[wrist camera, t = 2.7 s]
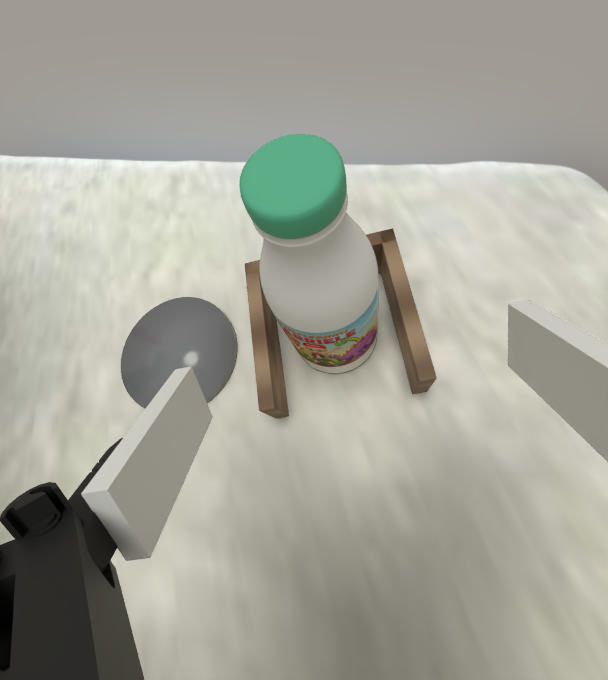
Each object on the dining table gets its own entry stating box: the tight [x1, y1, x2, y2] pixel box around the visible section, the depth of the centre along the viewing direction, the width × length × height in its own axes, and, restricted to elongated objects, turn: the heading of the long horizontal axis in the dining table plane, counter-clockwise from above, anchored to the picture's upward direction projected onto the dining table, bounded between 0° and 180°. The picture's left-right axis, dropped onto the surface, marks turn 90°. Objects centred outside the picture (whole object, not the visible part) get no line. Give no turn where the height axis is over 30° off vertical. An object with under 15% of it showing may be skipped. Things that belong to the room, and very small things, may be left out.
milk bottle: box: [240, 134, 379, 373], centre depth 24 cm, size 8×8×20 cm
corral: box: [245, 229, 436, 418], centre depth 31 cm, size 13×13×5 cm
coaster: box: [121, 297, 237, 408], centre depth 35 cm, size 12×12×1 cm
